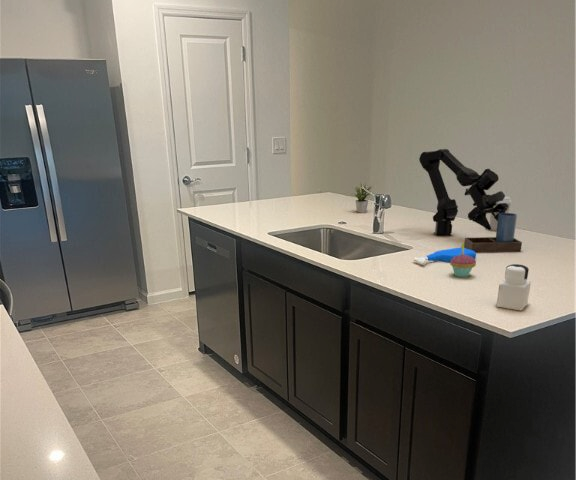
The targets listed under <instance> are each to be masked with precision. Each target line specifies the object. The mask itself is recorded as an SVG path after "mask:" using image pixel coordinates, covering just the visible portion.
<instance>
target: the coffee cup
mask: <svg viewBox="0 0 576 480" xmlns="http://www.w3.org/2000/svg"><path fill="white" fill-rule="evenodd" d="M500 203H507V205H508V206H509V208H508V209H507V211H506V212H505V213H510V212H509V211H510V207H511V204H512V203H513V201H512V199H511V197H510V196H506V195H505V198H504V199H503V201H499V202H496V205H495V206H493V208H494V207H496V206H497V205H498V204H500ZM489 224H490V226H491V230H490V231H492V232H497V224H498V221H497V220H496V219H495V218H494V216H493V215H492V213H489Z"/></svg>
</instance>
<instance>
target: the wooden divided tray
mask: <svg viewBox="0 0 576 480" xmlns="http://www.w3.org/2000/svg"><path fill="white" fill-rule="evenodd" d="M495 239H496V236H485V237H484V236H483V237H464V238H463V240H464V248H466V249H469V250H472V251H475V253H476V254H477V253H478V254H479V253H481V254H482V253H515V252H516V253H518V252H519V253H520V252H522V244H523V242H522V241H521V240H519V239H517V238H515V237H514V240H513V242H498V243H497V242H496V241H495Z"/></svg>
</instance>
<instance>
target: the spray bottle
mask: <svg viewBox="0 0 576 480" xmlns="http://www.w3.org/2000/svg"><path fill="white" fill-rule="evenodd" d="M457 255H462V247H453V248H447V249H441V250H437V251H434V252H433V253H430V254H428V255H425V256H421V257H420V256H419V257H415V256H414V257H413V262H415V263H417V264H419V265H423V266H425V265H426V264H428V263H434V262H437V261H440V262H445V263H450V262H451V259H452V258H454V257H455V256H457ZM464 255H467V256H470V257H472V258H473V259H474V260H476V258H477V253H475V251H472V250H469V249H466V248H465V247H464Z"/></svg>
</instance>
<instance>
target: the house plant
mask: <svg viewBox="0 0 576 480" xmlns="http://www.w3.org/2000/svg"><path fill="white" fill-rule="evenodd" d="M353 186H354V187H353V189H354V190H355V192H356V193H352V194H351V195H354V196H355V197H356V198H357V199H356V200H355V207H356V212H357V213H359V214H363V213H367V210H368V204H369V200H368V199H367V197H369V196H371V193H370V192H366V191H365V190H368V191H370V190H372V188H373V185H370V186H369V187H368V188H367V183H366V182H365V183H364V185H363V184H362V182H361V181H360V187H358V186H357V185H355V184H353ZM361 187H364V188H366V189H365V190H364V189H362V188H361Z"/></svg>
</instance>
